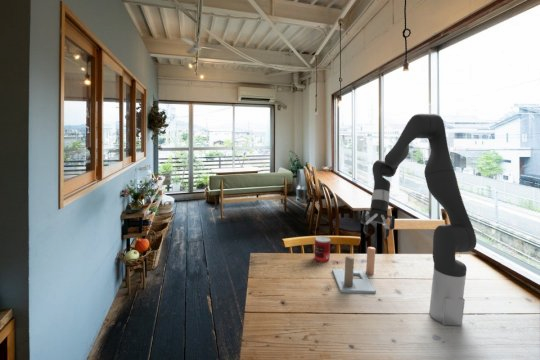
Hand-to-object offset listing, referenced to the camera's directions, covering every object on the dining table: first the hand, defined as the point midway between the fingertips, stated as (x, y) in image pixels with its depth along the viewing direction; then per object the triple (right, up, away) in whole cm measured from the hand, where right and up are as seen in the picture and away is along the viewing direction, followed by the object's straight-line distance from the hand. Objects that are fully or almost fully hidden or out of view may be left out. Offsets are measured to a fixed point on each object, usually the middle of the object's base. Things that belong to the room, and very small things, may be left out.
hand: (375, 235), depth 123 cm
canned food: (-20, -16, +19) cm, 32 cm away
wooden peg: (-1, -18, +5) cm, 19 cm away
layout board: (-11, -19, -3) cm, 23 cm away
